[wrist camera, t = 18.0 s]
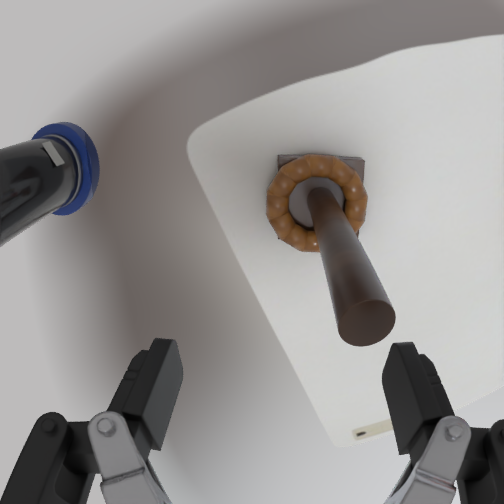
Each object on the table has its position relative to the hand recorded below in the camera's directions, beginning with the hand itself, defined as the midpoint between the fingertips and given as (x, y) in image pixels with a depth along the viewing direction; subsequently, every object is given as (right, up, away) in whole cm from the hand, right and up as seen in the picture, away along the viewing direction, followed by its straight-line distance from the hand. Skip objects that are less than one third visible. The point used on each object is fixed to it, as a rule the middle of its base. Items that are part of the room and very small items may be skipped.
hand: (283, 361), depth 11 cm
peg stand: (+5, +9, +19) cm, 22 cm away
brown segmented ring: (+5, +8, +17) cm, 19 cm away
